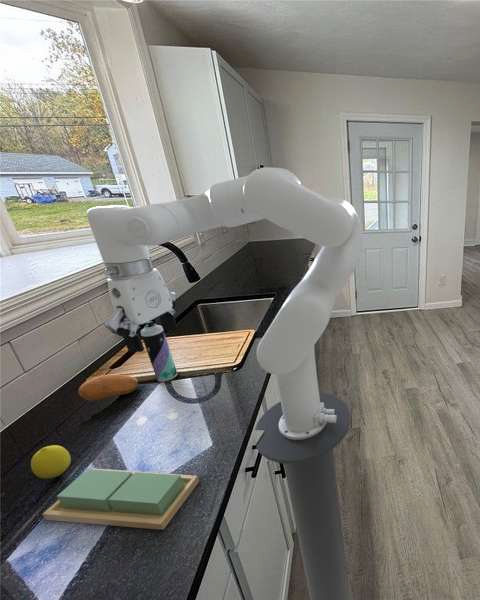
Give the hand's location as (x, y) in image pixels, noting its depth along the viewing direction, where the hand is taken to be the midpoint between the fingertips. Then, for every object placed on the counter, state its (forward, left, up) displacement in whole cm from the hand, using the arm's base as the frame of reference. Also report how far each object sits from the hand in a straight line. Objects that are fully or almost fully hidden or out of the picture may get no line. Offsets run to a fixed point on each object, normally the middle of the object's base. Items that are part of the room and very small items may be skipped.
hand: (154, 339), depth 72 cm
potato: (+31, -11, -26) cm, 42 cm away
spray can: (+22, -21, -26) cm, 40 cm away
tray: (-2, +19, -26) cm, 33 cm away
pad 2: (-7, +19, -26) cm, 33 cm away
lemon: (+18, +15, -26) cm, 35 cm away
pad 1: (+3, +19, -26) cm, 32 cm away
